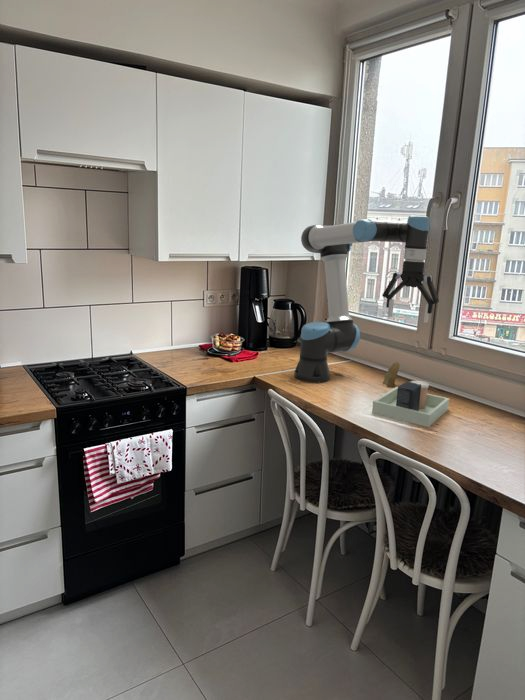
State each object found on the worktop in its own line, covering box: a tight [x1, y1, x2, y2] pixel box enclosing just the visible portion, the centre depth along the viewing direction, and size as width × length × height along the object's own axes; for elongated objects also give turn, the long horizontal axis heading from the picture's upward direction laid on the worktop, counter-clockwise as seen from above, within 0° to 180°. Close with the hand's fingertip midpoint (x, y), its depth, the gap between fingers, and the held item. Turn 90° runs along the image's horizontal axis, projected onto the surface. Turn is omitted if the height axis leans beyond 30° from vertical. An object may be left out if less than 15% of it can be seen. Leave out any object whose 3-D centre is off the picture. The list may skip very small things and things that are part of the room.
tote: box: [371, 386, 450, 428], centre depth 190 cm, size 20×22×5 cm
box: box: [396, 381, 421, 411], centre depth 186 cm, size 8×6×11 cm
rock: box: [382, 361, 401, 389], centre depth 221 cm, size 11×9×10 cm
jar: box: [410, 380, 430, 409], centre depth 195 cm, size 7×7×9 cm
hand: (407, 319), depth 195 cm, fingers open, 13 cm apart
